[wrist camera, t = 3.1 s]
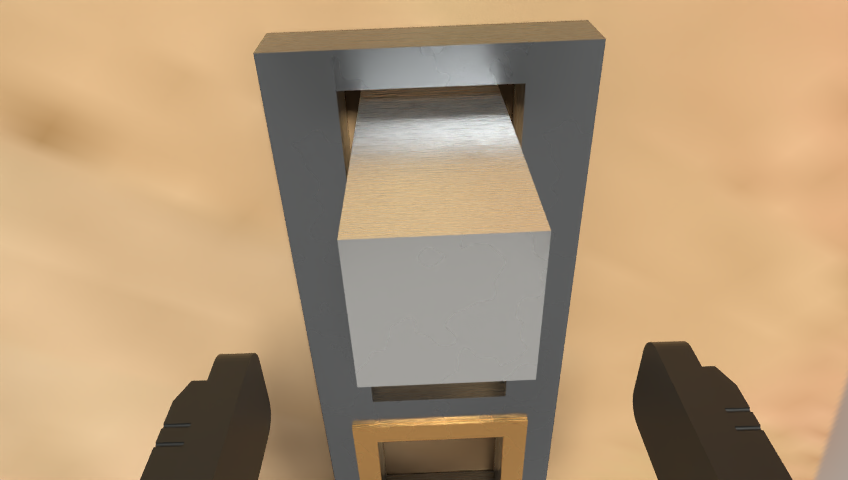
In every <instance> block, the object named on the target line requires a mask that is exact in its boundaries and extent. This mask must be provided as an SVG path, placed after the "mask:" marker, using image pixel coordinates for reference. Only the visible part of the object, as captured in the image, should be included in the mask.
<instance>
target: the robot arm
mask: <svg viewBox="0 0 848 480" xmlns="http://www.w3.org/2000/svg"><path fill="white" fill-rule="evenodd" d="M633 410H634V416H635V420H636V423H637V426H638V429H639V431H640V434H641V437H642V439H643V442H644V444H645V447H646V450H647V452H648V455H649V457H650V460H651V463H652V465H653V468H654V471H655V473H656V476H657V478H658V480H792V478H791V476H790V475H789V473H788V471H787V469H786V468H785V466H784V464H783V463H782V461H781V459H780V458H779V456H778V454H777V453H776V451H775V449H774V448H773V446H772V444H771V442H770V441H769V439H768V437H767V436H766V434H765V432H764V431H763V430H761V428H760V424H759V422H758V421H757V419H756V417H755V415H754V414H753V412H750V407H749V405H748V404H747V402H746V400H745V399H744V397H743V395H742V394H741V392H740V390H739V388H738V387H737V385H736V384H735V383H733V382H732V381H731V380H730V379H729V378H728V377H727V376H725V375H724V374H723V373H722V372H721V371H720V370H719V369H717V368H716V367H715V366H706V367H702V366H701V364H700V362H699V361H698V359H697V357H696V355H695V353H694V351H693V350H692V348H691V346H690V345H689V344H688V343H687V342H685V341H678V342H648V343H647V344H646V345H645V347H644V351H643V355H642V359H641V363H640V367H639V371H638V376H637V380H636V384H635V388H634V393H633ZM270 421H271V410H270V402H269V398H268V394H267V389H266V385H265V381H264V377H263V373H262V369H261V365H260V361H259V358H258V355H257V354H256V353H245V354H219V355H218V356H217V357H216V359H215V361H214V364H213V366H212V369H211V372H210V374H209V377H208V380H206V381H191V382H190V383H189V384H188V386H187V387H186V388H185V389H184V390H183V391H182V392H181V393H180V394H179V395H178V396H177V397H176V399H175V400H174V401H173V403H172V405H171V407H170V410H169V412H168V415H167V417H166V419H165V422H164V427H163V428H162V429H161V431H160V434H159V436H158V438H157V441H156V447H154V448H153V450H152V452H151V455H150V457H149V460H148V462H147V464H146V467H145V469H144V471H143V474H142V476H141V479H140V480H258V477H259V473H260V469H261V465H262V461H263V456H264V452H265V448H266V444H267V440H268V435H269V430H270Z"/></svg>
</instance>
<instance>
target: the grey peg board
mask: <svg viewBox="0 0 848 480" xmlns="http://www.w3.org/2000/svg"><path fill="white" fill-rule="evenodd" d="M605 41H606V39H605V38H604V37H603V36H602V35H601V34H600V32H599V31H598V30H597V29H596V28H595V27H594V26H593V25H592V24H591V23H590V22H589V21H588V20H586V21H561V22H537V23H512V24H487V25H463V26H438V27H413V28H388V29H364V30H339V31H314V32H290V33H267V34H266V35H265V37H264V38H263V40H262V41H261V43H260V44H259V46H258V47H257V49H256V50H255V52H254V53H253V54H254V59H255V64H256V70H257V75H258V80H259V85H260V90H261V96H262V101H263V106H264V111H265V116H266V122H267V127H268V132H269V137H270V143H271V148H272V153H273V158H274V163H275V169H276V174H277V179H278V184H279V190H280V195H281V200H282V205H283V210H284V216H285V221H286V226H287V231H288V237H289V242H290V247H291V252H292V257H293V263H294V268H295V273H296V278H297V284H298V289H299V294H300V299H301V304H302V310H303V315H304V320H305V325H306V331H307V336H308V341H309V346H310V351H311V357H312V362H313V367H314V372H315V378H316V383H317V388H318V393H319V398H320V404H321V409H322V414H323V419H324V424H325V430H326V435H327V440H328V445H329V451H330V456H331V461H332V466H333V471H334V477H335V480H546V476H547V468H548V461H549V454H550V446H551V439H552V432H553V424H554V417H555V410H556V402H557V395H558V387H559V380H560V373H561V365H562V358H563V351H564V343H565V336H566V328H567V321H568V314H569V306H570V299H571V292H572V284H573V277H574V269H575V262H576V255H577V247H578V240H579V233H580V225H581V218H582V210H583V203H584V196H585V188H586V181H587V174H588V166H589V159H590V151H591V144H592V137H593V129H594V122H595V115H596V107H597V100H598V93H599V85H600V78H601V70H602V63H603V56H604V48H605ZM496 84H514V98H513V116H512V125H513V128H514V130H515V133H516V136H517V139H518V141H519V144H520V147H521V150H522V152H523V155H524V158H525V161H526V163H527V166H528V169H529V171H530V174H531V177H532V180H533V182H534V185H535V188H536V191H537V193H538V196H539V199H540V202H541V204H542V207H543V210H544V212H545V215H546V218H547V221H548V223H549V226H550V229H551V238H550V248H549V257H548V267H547V277H546V286H545V296H544V306H543V315H542V325H541V335H540V344H539V354H538V364H537V373H536V380H516V381H493V382H470V383H447V384H424V385H401V386H378V387H357V380H356V373H355V366H354V358H353V351H352V344H351V336H350V329H349V322H348V314H347V307H346V300H345V293H344V285H343V278H342V271H341V263H340V256H339V249H338V241H337V239H338V232H339V226H340V220H341V214H342V208H343V201H344V195H345V189H346V183H347V176H348V170H349V164H350V158H351V148H350V139H349V130H348V121H347V112H346V103H345V94H344V91H349V90H373V89H398V88H422V87H447V86H471V85H496ZM486 437H495V453H494V470H490V471H467V472H444V473H421V474H398V475H387V473H386V464H385V455H384V446H383V442H394V441H417V440H440V439H463V438H486Z"/></svg>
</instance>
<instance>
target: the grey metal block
mask: <svg viewBox="0 0 848 480" xmlns="http://www.w3.org/2000/svg"><path fill="white" fill-rule="evenodd" d="M550 238H551V229H550V226H549V223H548V221H547V218H546V215H545V212H544V210H543V207H542V204H541V202H540V199H539V196H538V193H537V191H536V188H535V185H534V182H533V180H532V177H531V174H530V171H529V169H528V166H527V163H526V161H525V158H524V155H523V152H522V150H521V147H520V144H519V141H518V139H517V136H516V133H515V130H514V128H513V125H512V122H511V120H510V117H509V114H508V111H507V109H506V106H505V103H504V100H503V98H502V95H501V92H500V89H499V87H498V84H496V85H471V86H447V87H422V88H398V89H373V90H361V95H360V102H359V108H358V114H357V120H356V126H355V133H354V139H353V145H352V151H351V158H350V164H349V170H348V176H347V183H346V189H345V195H344V201H343V208H342V214H341V220H340V226H339V232H338V239H337V241H338V249H339V256H340V263H341V271H342V278H343V285H344V293H345V300H346V307H347V314H348V322H349V329H350V336H351V344H352V351H353V358H354V366H355V373H356V380H357V387H378V386H401V385H424V384H447V383H470V382H493V381H516V380H536V373H537V364H538V354H539V344H540V335H541V325H542V315H543V306H544V296H545V286H546V277H547V267H548V257H549V248H550Z"/></svg>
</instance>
